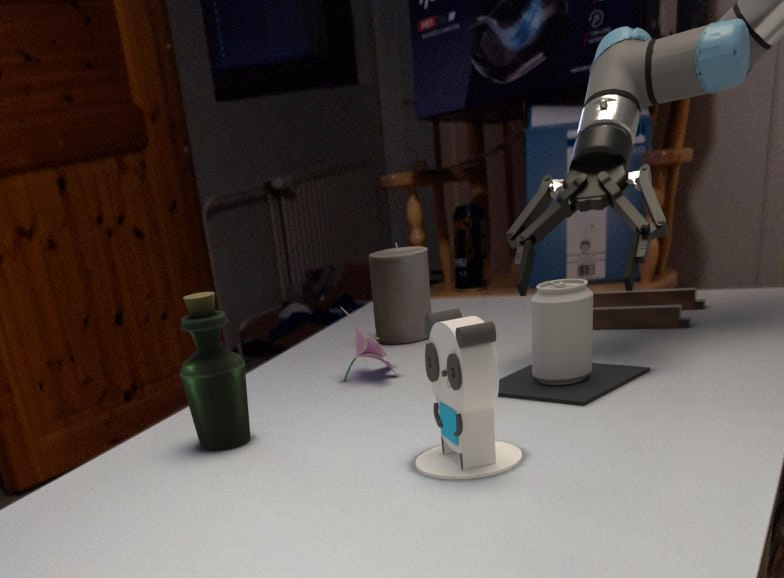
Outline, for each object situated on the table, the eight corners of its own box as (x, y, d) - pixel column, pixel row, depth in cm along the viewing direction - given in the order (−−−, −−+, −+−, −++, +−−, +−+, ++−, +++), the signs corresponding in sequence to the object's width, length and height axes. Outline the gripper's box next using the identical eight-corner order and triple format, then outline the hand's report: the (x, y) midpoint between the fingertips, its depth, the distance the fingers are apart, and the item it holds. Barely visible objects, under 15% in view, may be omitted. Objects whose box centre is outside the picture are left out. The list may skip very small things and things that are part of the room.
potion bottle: (250, 428, 122) (226, 285, 114) (263, 444, 115) (238, 293, 107) (190, 440, 121) (161, 297, 112) (199, 458, 114) (168, 306, 105)
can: (556, 390, 117) (556, 290, 111) (520, 380, 123) (518, 285, 117) (604, 376, 119) (606, 278, 113) (567, 367, 125) (567, 273, 120)
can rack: (705, 306, 147) (706, 287, 146) (688, 327, 137) (690, 306, 136) (573, 311, 157) (573, 292, 156) (549, 330, 147) (549, 310, 146)
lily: (383, 397, 131) (408, 329, 128) (307, 368, 132) (330, 300, 129) (395, 399, 142) (419, 337, 139) (325, 373, 144) (347, 311, 141)
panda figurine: (400, 454, 105) (388, 317, 98) (495, 435, 107) (490, 299, 99) (435, 487, 95) (425, 337, 88) (539, 465, 96) (537, 316, 89)
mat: (650, 371, 121) (650, 367, 120) (583, 406, 112) (583, 402, 111) (543, 362, 131) (543, 358, 131) (475, 394, 122) (474, 390, 122)
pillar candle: (364, 344, 157) (355, 249, 150) (398, 330, 163) (390, 238, 156) (412, 345, 151) (404, 247, 144) (445, 331, 157) (439, 236, 150)
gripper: (505, 135, 125) (471, 275, 121) (703, 108, 113) (672, 262, 109) (518, 174, 131) (487, 308, 128) (707, 153, 119) (678, 300, 116)
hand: (572, 287), depth 118 cm, fingers open, 13 cm apart
